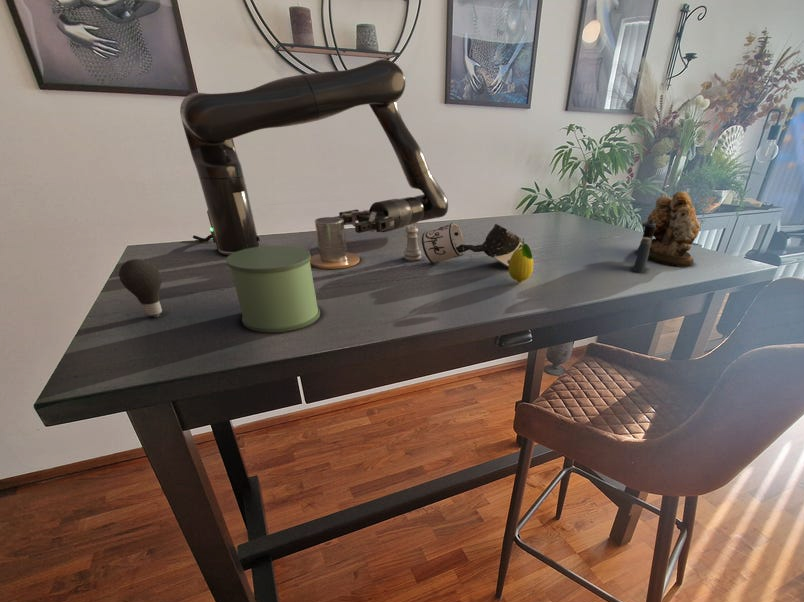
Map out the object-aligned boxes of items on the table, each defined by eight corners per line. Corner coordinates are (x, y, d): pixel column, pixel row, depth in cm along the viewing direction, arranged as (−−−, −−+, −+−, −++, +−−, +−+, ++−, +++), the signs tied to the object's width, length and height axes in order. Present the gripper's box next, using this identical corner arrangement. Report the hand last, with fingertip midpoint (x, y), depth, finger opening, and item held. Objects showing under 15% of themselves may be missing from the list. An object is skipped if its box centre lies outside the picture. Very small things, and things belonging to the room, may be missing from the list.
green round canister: (226, 320, 77) (208, 258, 71) (286, 297, 87) (275, 241, 81) (277, 339, 72) (262, 274, 66) (335, 313, 82) (326, 254, 76)
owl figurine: (624, 250, 127) (638, 186, 118) (654, 246, 132) (669, 184, 122) (672, 269, 114) (692, 198, 104) (703, 264, 118) (725, 196, 109)
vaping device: (645, 267, 113) (658, 219, 107) (643, 273, 109) (655, 223, 103) (635, 266, 114) (647, 218, 108) (632, 271, 110) (644, 222, 104)
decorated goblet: (421, 270, 105) (419, 226, 99) (424, 257, 113) (423, 217, 108) (526, 273, 106) (531, 230, 100) (522, 260, 114) (525, 220, 109)
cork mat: (297, 262, 105) (296, 260, 105) (334, 251, 114) (333, 248, 114) (334, 272, 101) (334, 269, 100) (369, 259, 110) (369, 257, 109)
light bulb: (147, 309, 80) (125, 254, 74) (180, 309, 80) (161, 254, 75) (129, 322, 75) (104, 264, 70) (164, 322, 76) (142, 265, 70)
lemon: (528, 289, 96) (533, 243, 91) (503, 285, 98) (506, 239, 93) (536, 280, 102) (541, 236, 96) (511, 276, 103) (515, 232, 98)
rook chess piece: (423, 256, 113) (422, 224, 109) (419, 261, 110) (418, 228, 105) (406, 255, 114) (404, 223, 109) (402, 260, 110) (400, 227, 106)
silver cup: (314, 259, 106) (308, 220, 101) (334, 253, 111) (329, 215, 106) (334, 264, 103) (328, 224, 99) (353, 257, 108) (349, 219, 103)
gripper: (371, 196, 119) (322, 204, 107) (410, 203, 112) (363, 213, 101) (373, 224, 123) (326, 236, 111) (412, 234, 116) (366, 246, 105)
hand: (344, 225), depth 106 cm, fingers open, 8 cm apart
